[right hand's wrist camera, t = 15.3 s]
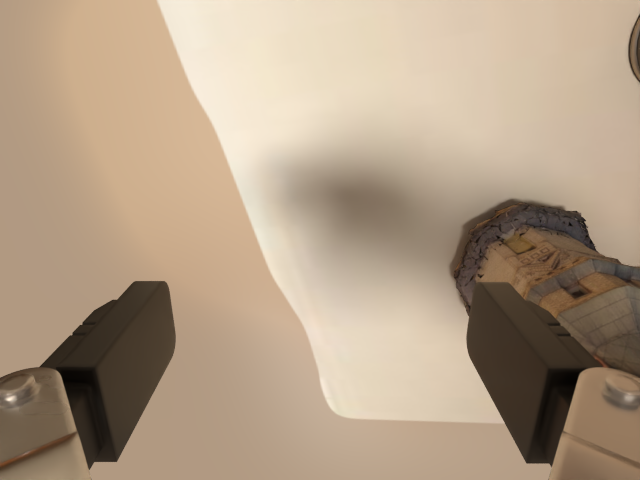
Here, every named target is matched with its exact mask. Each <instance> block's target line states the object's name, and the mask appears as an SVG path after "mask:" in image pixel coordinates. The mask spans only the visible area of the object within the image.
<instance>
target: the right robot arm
mask: <svg viewBox="0 0 640 480" xmlns="http://www.w3.org/2000/svg"><path fill="white" fill-rule="evenodd" d="M630 58H631V64H632V67H633V70H634V72H635V74H636V76H637V77H638V79H639V80H640V17H639V19H638V21H637V23H636V26H635V28H634V31H633V34H632V38H631V44H630ZM560 324H561V323H560V322H559V321H558V320H557V319H556V318H555V317H554V316H553V315H552V314H551V313H550V312H549V311H547V310H546V309H544V308H542V307H540V306H539V305H537V304H535V303H533V302H532V301H526V300H525V299H524V298H523V297H522V296H521V295H520V294H519V293H518V292H517V291H516V290H515V289H514V287H513V286H512V285H511V284H510V283H508V282H477V283H476V284H475V286H474V289H473V295H472V302H471V308H470V315H469V322H468V329H467V349H468V353H469V356H470V359H471V361H472V362H473V364H474V366H475V368H476V370H477V372H478V374H479V376H480V377H481V379H482V381H483V383H484V385H485V387H486V389H487V390H488V392H489V394H490V396H491V398H492V400H493V402H494V404H495V405H496V407H497V409H498V411H499V413H500V415H501V417H502V418H503V420H504V422H505V424H506V426H507V428H508V430H509V431H510V433H511V435H512V437H513V439H514V441H515V443H516V445H517V446H518V448H519V450H520V452H521V454H522V456H523V458H524V459H525V461H526V463H549V464H550V465H551V467H552V469H551V472H550V476H549V479H548V480H640V378H639V377H637V376H635V375H632V374H629V373H627V372H624V371H620V370H616V369H611V368H604V367H603V366H602V365H601V364H600V363H599V362H598V361H597V360H596V359H595V358H594V357H593V356H592V355H591V354H590V353H589V352H588V351H587V350H586V349H585V348H584V347H583V346H582V345H581V344H580V343H579V342H578V341H577V340H576V339H575V338H574V337H571V334H570V333H569V332H568V331H567V330H566V329H565V328H564V327H563V326H561V325H560ZM175 341H176V335H175V327H174V320H173V313H172V306H171V299H170V292H169V287H168V285H167V283H166V282H165V281H135V282H133V283H132V284H131V285H130V286H129V287H128V289H127V290H126V291H125V292H124V293H123V294H122V295H121V296H120V297H119V298H118V299H117V300H112V301H110V302H108V303H106V304H105V305H103V306H101V307H99V308H98V309H96V310H94V311H93V312H92V313H91V314H90V315H89V316H88V318H86V320H85V321H84V322H83V324H82V325H80V326H79V327H78V328H77V329H76V330H75V331H74V332H73V335H72V336H69V337H68V338H67V339H66V340H65V341H64V342H63V343H62V344H61V345H60V346H59V347H58V348H57V349H56V350H55V351H54V352H53V354H52V355H51V356H50V357H49V358H48V359H47V360H46V361H45V362H44V363H43V364H42V365H41V366H40V367H36V368H29V369H24V370H20V371H16V372H13V373H11V374H8V375H5V376H3V377H1V378H0V480H92V479H91V476H90V472H89V470H90V468H91V466H92V465H93V463H94V462H117V460H118V458H119V457H120V455H121V453H122V451H123V449H124V447H125V445H126V443H127V441H128V440H129V438H130V436H131V434H132V432H133V430H134V428H135V426H136V424H137V423H138V421H139V419H140V417H141V415H142V413H143V411H144V409H145V407H146V406H147V404H148V402H149V400H150V398H151V396H152V394H153V392H154V391H155V389H156V387H157V385H158V383H159V381H160V379H161V377H162V375H163V374H164V372H165V370H166V368H167V366H168V364H169V362H170V360H171V358H172V356H173V353H174V349H175Z"/></svg>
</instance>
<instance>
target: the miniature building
mask: <svg viewBox="0 0 640 480" xmlns="http://www.w3.org/2000/svg"><path fill="white" fill-rule="evenodd" d="M495 214H496V216H494V217H493V218H491V219H488V220H486V221H484V222H481V223H479V224H477V226H476V227H475V228H474V229H471V230H470V231H469V234H471V235H472V237H471V239H470V241H469V242H468V244H467V245H466V247H465V249H464V252H463V255H462V257H461V260H460V262H459V264H458V266H457V268H456V270H455V271H454V278H455V279H456V280H457V282H456V286H457V289H458V290H459V291H460V293H461V296H462V297H463V299H464V301H465V302H464V305H465V308H466V311H467V313H468V316H469V315H470V308H471V302H472V295H473V289H474V286H475V284H476V283H477V282H482V281H483V282H508V283H510V284H511V285H512V286H513V287H514V289H515V290H516V291H517V292H518V293H519V294H520V295H521V296H522V297H523V298H524V299H525V300H526V301H532V302H533V303H535V304H537V305H539V306H540V307H542V308H544V309H546V310H547V311H549V312H550V313H551V314H552V315H553V316H554V317H555V318H556V319H557V320H558V321H559V322H560V323H561V324H560V325H561V326H563V327H564V328H565V329H566V330H567V331H568V332H569V333H570V334H571V337H574V338H575V339H576V340H577V341H578V342H579V343H580V344H581V345H582V346H583V347H584V348H585V349H586V350H587V351H588V352H589V353H590V354H591V355H592V356H593V357H594V358H595V359H596V360H597V361H598V362H599V363H600V364H601V365H602V366H603V367H604V368H611V369H616V370H620V371H624V372H627V373H629V374H632V375H635V376H637V377H639V378H640V267H633V266H628V265H623V264H621V263H620V261H619V260H618V259H614V258H609V257H605V256H603V255H601V254H600V253H599V252H597V251H596V249H595V246H594V244H593V242H592V241H591V239H590V237H589V234H588V230H587V229H586V227H587V226H586V224H585V223H584V221H586V220H585V219H584V218H583V217H581V213H578V212H577V211H564V210H558V209H554V208H551V207H535V206H533V205H528V204H526V203H518V204H516V205H512V206H510V207H507V208H505V209H502V210H499V211H496V210H495ZM517 215H518V216H517ZM515 218H516V219H519V220H516V221H514V219H515ZM530 218H532V219H530ZM526 219H527V221H528V222H527V223H528V224H527V223H525V222H526ZM528 219H529V220H528ZM546 219H547V220H546ZM540 220H541V222H540ZM506 222H507V223H506ZM580 222H581V223H580ZM582 223H583V224H584V225H583V224H582ZM532 225H533V226H535V228H534V227H533V226H532ZM540 225H541V227H540ZM581 226H582V227H581ZM500 227H501V231H500V230H499V229H498V228H500ZM526 228H527V230H528V229H529V230H528V231H527V230H526ZM587 228H588V227H587ZM584 229H585V230H584ZM540 230H549V231H540ZM484 232H485V233H484ZM514 232H515V235H514ZM550 232H551V233H552V235H551V233H550ZM521 233H525V234H523V235H521V236H520V234H521ZM496 235H497V236H499V237H501V238H500V239H497V237H496ZM563 235H564V236H563ZM492 236H493V237H492ZM565 236H566V237H565ZM479 237H480V239H479V241H478V243H476V242H477V239H478V238H479ZM487 238H491V239H487ZM493 238H494V239H493ZM502 238H503V239H505V240H504V241H503V240H502ZM519 238H520V240H519ZM516 239H517V240H516ZM486 240H487V241H486ZM493 240H495V241H493ZM499 240H501V241H503V243H504V244H502V242H501V241H499ZM485 241H486V243H485ZM484 243H485V244H484ZM477 244H478V245H477ZM499 244H502V245H501V246H500V245H499ZM476 245H477V247H476ZM504 245H505V246H504ZM506 246H507V247H506ZM475 247H476V248H475ZM487 248H488V249H489V250H488V249H487ZM480 249H481V252H482V253H480ZM485 249H486V250H485ZM495 249H496V250H495ZM474 250H475V251H474ZM489 251H490V252H489ZM479 253H480V254H479ZM484 254H485V255H484ZM479 255H481V256H482V257H481V259H480V256H479ZM483 255H484V256H485V257H486V258H487V259H488V260H486V258H485V257H484V256H483ZM472 257H473V258H474V259H473V258H472ZM478 258H479V259H478ZM476 259H478V260H479V261H478V260H476ZM475 262H476V263H477V264H478V265H479V266H478V265H477V264H476V263H475ZM475 264H476V265H475ZM464 265H465V267H464ZM462 266H463V267H464V268H463V267H462ZM461 267H462V268H461ZM479 267H480V269H479V270H478V268H479ZM474 273H475V274H474ZM478 274H480V276H481V275H483V274H484V275H483V276H482V277H481V279H480V277H478ZM473 278H474V279H473Z"/></svg>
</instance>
